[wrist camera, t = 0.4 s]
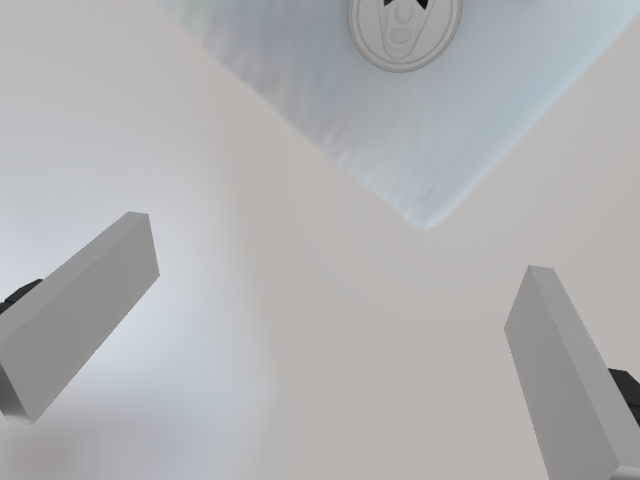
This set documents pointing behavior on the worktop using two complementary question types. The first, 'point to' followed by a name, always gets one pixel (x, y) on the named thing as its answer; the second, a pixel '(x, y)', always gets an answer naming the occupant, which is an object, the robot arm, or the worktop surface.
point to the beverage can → (403, 31)
